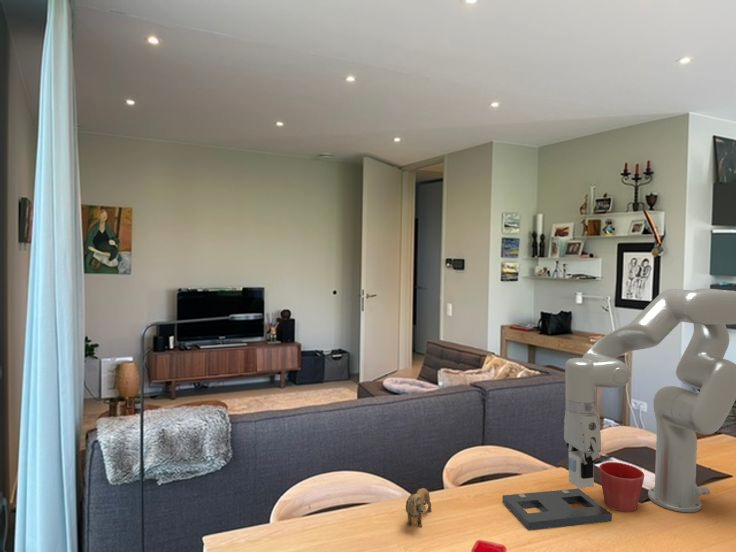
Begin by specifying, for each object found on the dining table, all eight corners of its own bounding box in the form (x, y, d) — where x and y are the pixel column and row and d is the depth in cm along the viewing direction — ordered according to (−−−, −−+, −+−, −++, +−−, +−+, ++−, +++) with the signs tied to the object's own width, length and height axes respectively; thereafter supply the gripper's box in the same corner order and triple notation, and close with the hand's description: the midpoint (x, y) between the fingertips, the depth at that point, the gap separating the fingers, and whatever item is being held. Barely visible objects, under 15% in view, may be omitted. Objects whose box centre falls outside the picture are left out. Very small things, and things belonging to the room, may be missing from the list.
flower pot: (649, 517, 130) (650, 480, 130) (603, 512, 133) (604, 476, 132) (636, 498, 141) (637, 463, 140) (594, 493, 143) (595, 460, 143)
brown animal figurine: (424, 536, 121) (425, 500, 120) (402, 533, 122) (403, 497, 122) (433, 507, 135) (433, 474, 134) (413, 504, 136) (413, 471, 136)
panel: (578, 495, 142) (578, 487, 142) (611, 521, 128) (611, 512, 128) (502, 502, 137) (502, 494, 137) (528, 530, 124) (528, 521, 124)
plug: (583, 479, 137) (583, 450, 136) (593, 486, 132) (593, 456, 132) (566, 481, 136) (566, 452, 135) (575, 488, 131) (575, 458, 131)
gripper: (615, 414, 125) (615, 486, 126) (574, 395, 142) (574, 459, 143) (588, 417, 124) (588, 489, 125) (550, 398, 140) (550, 462, 141)
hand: (581, 472), depth 134 cm, fingers closed on plug, 4 cm apart
